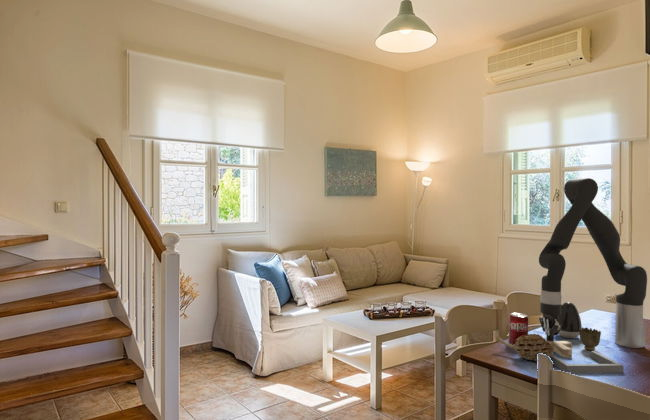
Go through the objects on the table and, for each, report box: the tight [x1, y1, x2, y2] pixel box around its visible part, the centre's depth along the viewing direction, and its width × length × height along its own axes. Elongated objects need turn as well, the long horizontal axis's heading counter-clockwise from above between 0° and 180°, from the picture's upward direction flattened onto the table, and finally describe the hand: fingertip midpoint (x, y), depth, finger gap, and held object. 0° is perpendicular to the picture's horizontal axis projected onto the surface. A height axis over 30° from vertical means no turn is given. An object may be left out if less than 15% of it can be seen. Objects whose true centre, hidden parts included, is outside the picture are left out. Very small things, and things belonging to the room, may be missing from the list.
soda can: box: [508, 312, 529, 345], centre depth 177 cm, size 7×7×12 cm
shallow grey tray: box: [550, 350, 625, 374], centre depth 154 cm, size 20×14×2 cm
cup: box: [579, 326, 602, 352], centre depth 170 cm, size 8×7×8 cm
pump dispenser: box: [558, 301, 583, 340], centre depth 187 cm, size 10×10×15 cm
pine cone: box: [495, 333, 555, 362], centre depth 160 cm, size 22×10×10 cm, turn 45°
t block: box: [547, 340, 573, 358], centre depth 166 cm, size 12×10×3 cm
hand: (549, 344), depth 173 cm, fingers closed
